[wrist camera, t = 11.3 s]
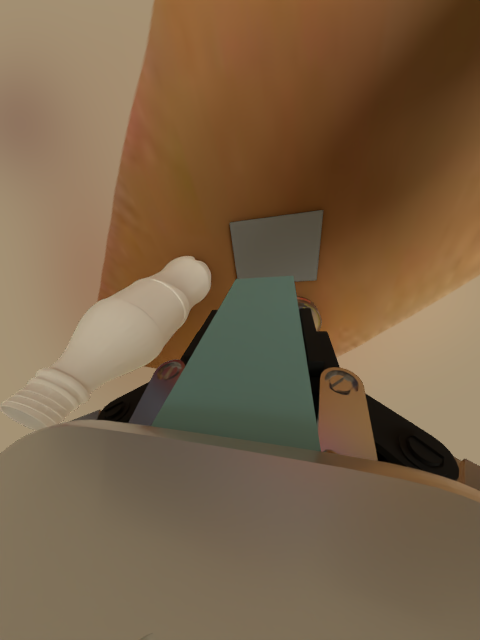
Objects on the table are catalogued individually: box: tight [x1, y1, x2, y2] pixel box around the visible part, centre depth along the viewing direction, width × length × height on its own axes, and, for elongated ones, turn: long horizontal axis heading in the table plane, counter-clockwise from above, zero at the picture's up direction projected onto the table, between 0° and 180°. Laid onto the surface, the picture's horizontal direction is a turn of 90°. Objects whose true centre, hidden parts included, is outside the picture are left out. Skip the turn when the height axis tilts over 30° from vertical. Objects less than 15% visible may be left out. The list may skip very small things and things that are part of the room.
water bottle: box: [0, 256, 211, 431], centre depth 21 cm, size 7×7×25 cm
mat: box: [230, 210, 323, 281], centre depth 26 cm, size 12×9×1 cm
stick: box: [151, 276, 321, 451], centre depth 8 cm, size 4×4×14 cm
